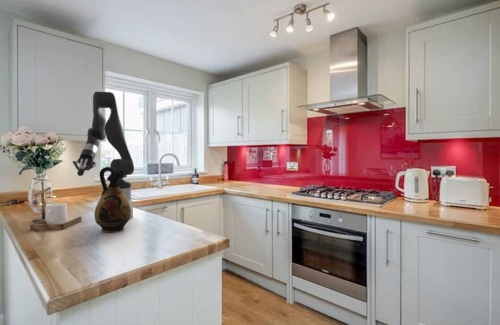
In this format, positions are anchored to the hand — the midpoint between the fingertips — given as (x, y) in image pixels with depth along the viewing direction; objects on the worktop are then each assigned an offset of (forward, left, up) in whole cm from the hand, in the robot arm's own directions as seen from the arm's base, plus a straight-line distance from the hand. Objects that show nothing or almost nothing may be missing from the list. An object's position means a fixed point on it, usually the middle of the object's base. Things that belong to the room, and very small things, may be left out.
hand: (79, 175), depth 151 cm
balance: (+15, +8, -24) cm, 29 cm away
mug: (+1, +20, -24) cm, 31 cm away
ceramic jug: (-31, +29, -24) cm, 49 cm away
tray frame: (0, +20, -24) cm, 31 cm away
